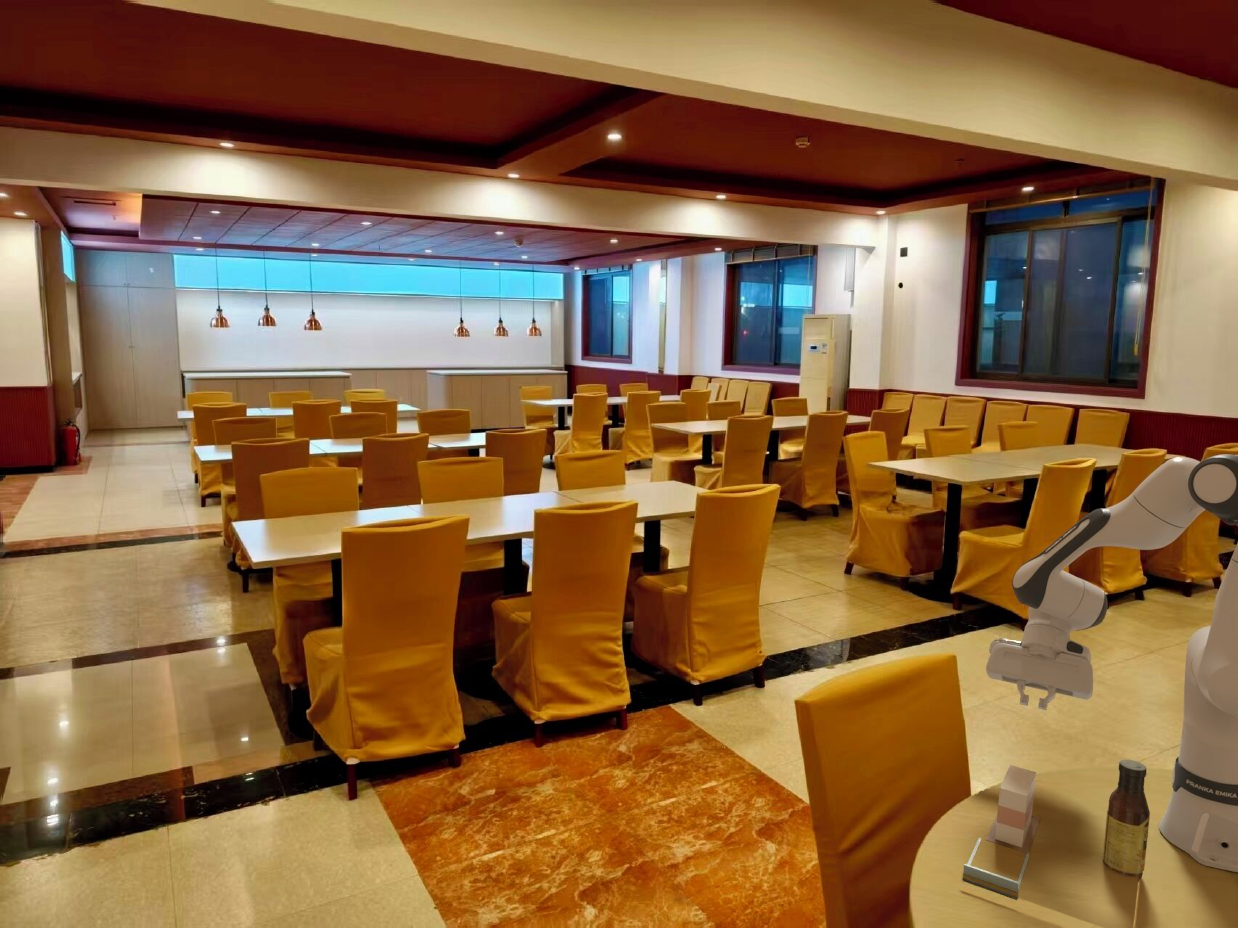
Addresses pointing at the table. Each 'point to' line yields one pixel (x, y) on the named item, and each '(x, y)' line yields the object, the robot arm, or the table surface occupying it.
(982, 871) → the tray
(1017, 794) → the tile stack
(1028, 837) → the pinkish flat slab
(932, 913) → the table surface
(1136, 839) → the sauce bottle
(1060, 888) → the table surface
